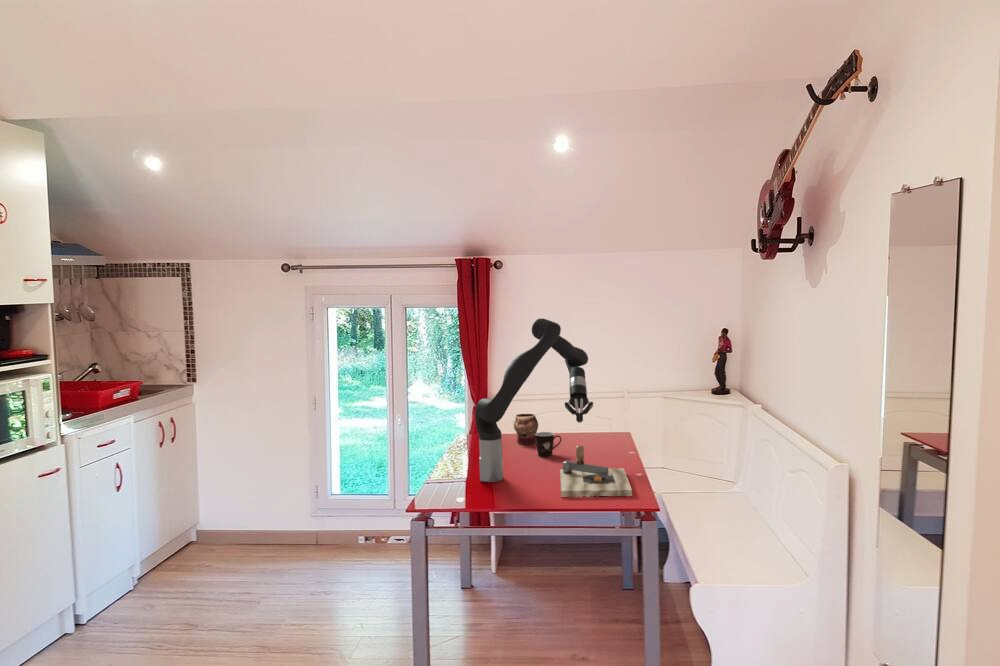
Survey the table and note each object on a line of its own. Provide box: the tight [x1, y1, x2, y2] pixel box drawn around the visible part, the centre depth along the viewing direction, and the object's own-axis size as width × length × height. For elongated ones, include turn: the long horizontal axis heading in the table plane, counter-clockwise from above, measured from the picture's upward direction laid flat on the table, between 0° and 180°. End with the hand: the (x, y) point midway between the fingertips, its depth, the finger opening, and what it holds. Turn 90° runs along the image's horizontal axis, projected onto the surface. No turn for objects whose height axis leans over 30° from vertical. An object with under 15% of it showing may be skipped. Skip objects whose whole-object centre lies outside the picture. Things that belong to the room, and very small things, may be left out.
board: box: [559, 467, 633, 498], centre depth 259 cm, size 26×28×2 cm
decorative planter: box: [513, 413, 539, 445], centre depth 333 cm, size 20×12×14 cm, turn 173°
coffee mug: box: [535, 431, 562, 458], centre depth 305 cm, size 12×9×10 cm
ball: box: [593, 476, 602, 481], centre depth 260 cm, size 4×4×4 cm
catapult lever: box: [562, 445, 609, 475], centre depth 264 cm, size 20×4×11 cm, turn 55°
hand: (579, 421), depth 284 cm, fingers closed
